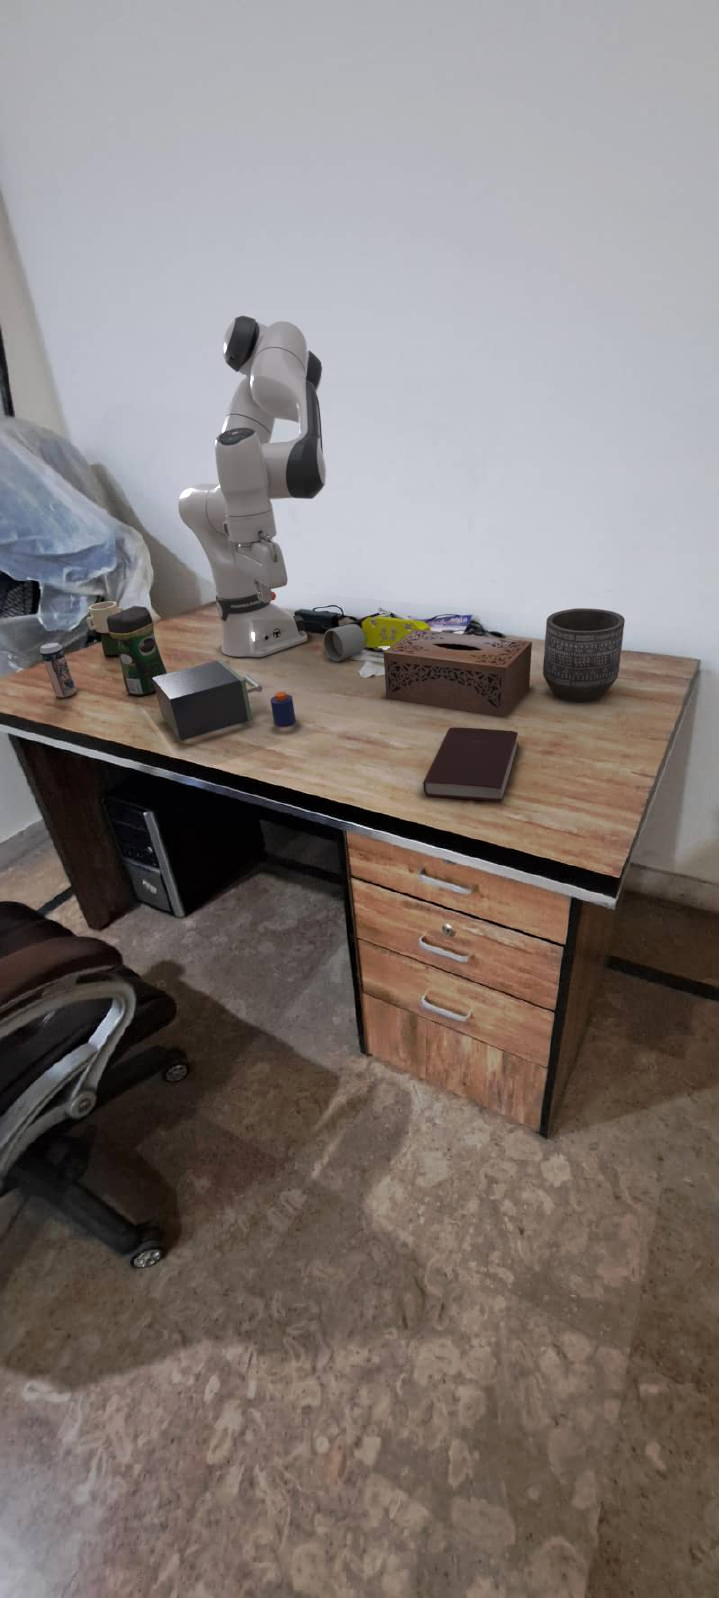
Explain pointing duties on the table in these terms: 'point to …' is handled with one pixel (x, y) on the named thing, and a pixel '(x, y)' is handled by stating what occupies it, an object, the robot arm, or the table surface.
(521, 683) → the tissue box cover
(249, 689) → the drawer
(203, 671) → the drawer unit
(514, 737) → the book
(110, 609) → the character mug
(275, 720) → the glue bottle
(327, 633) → the ceramic mug
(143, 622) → the coffee jar
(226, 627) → the robot arm
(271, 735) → the table surface
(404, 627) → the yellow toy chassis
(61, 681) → the beer can
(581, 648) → the planter
